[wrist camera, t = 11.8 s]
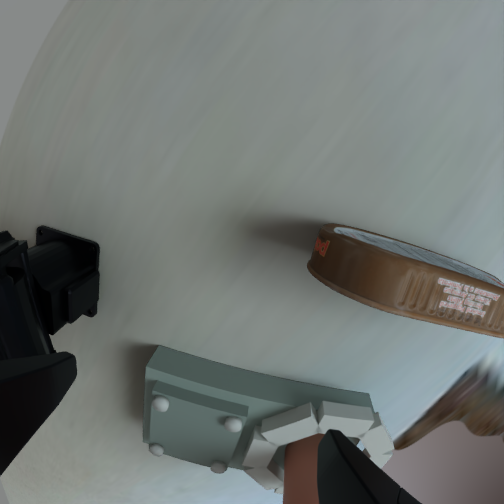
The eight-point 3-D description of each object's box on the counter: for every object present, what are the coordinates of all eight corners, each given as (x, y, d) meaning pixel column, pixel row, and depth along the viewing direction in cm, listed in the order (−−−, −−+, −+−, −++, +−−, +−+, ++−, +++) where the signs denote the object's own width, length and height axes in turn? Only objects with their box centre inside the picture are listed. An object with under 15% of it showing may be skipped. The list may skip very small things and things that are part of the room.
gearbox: (152, 426, 28) (136, 460, 23) (160, 335, 24) (137, 370, 19) (347, 466, 27) (352, 501, 23) (402, 388, 24) (418, 426, 19)
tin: (301, 251, 21) (311, 309, 13) (314, 205, 20) (335, 237, 12) (473, 299, 21) (530, 353, 13) (488, 263, 20) (553, 308, 12)
